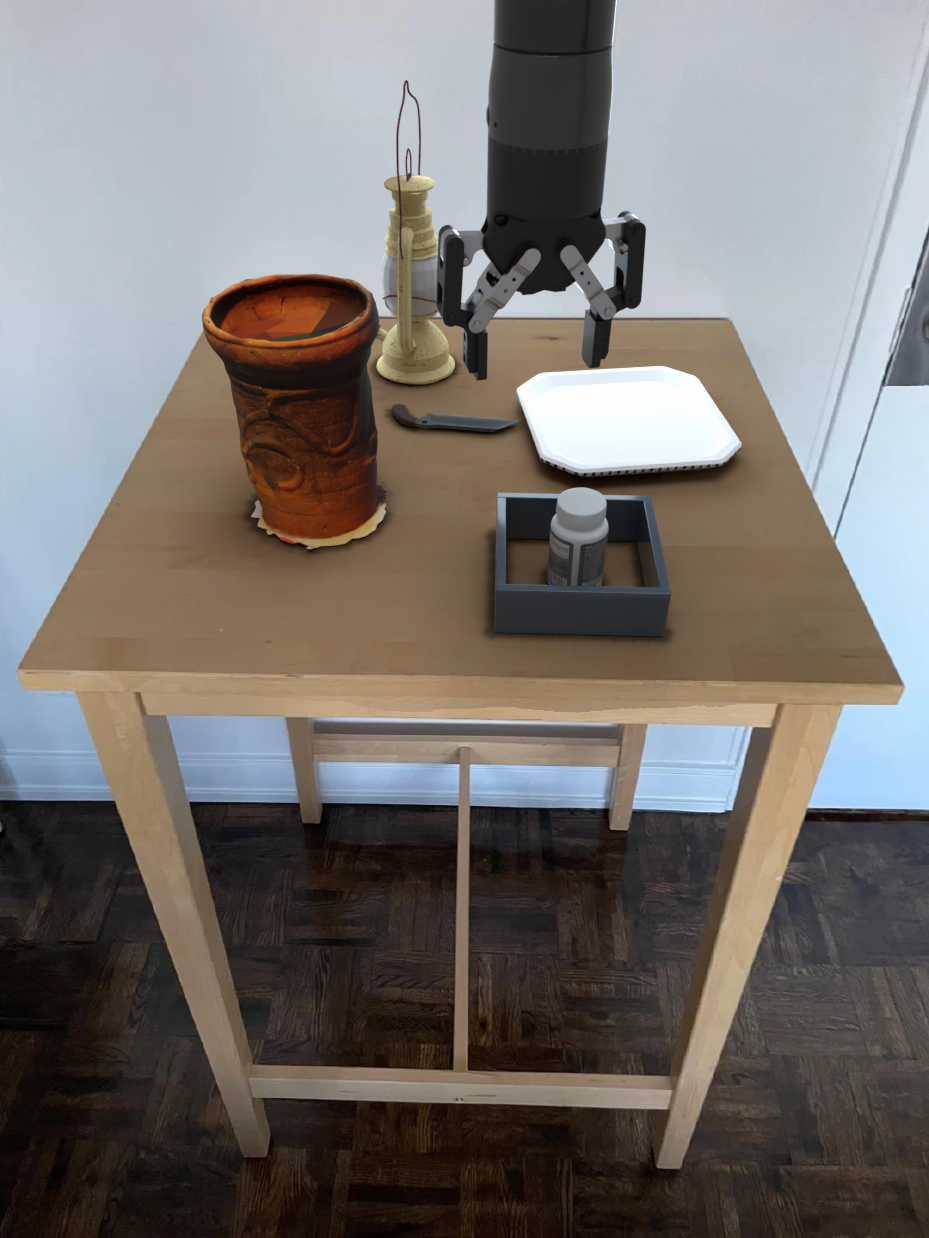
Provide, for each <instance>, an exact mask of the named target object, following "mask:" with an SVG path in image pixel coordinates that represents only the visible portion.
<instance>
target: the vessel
mask: <svg viewBox="0 0 929 1238" xmlns="http://www.w3.org/2000/svg"><path fill="white" fill-rule="evenodd" d="M201 321H202V329H203V333H204V337H205V339H206V341H207V343H208V345H209V346H210V348H211V349H212V350H213V352H214V353H215V354H216V355H217V356H218V358H220V360H221V361H222V362H223V366H224V369H225V372H226V374H227V376H228V378H229V381H230V392H231V396H232V400H233V405H234V408H235V413H236V414H235V415H236V419H237V420H236V421H237V425H238V429H239V445H240V451H241V457H242V458H243V459H244V462H245V469H246V473H247V477H248V479H249V481H250V483H251V485H252V486H253V488H254V491H255V494H256V497H257V500H256V501H255V502H254V505H255V509H254V511H253V513H252V514H251V516H250V518H255V519H258V522H257V527H259V528H260V529H263V530H266V532H265V533H266V534H267V535H268V536H269V535H270V536H271V535H274V534H275V535H276V536H277V538H279V540H281V541H283V542H286V543H290V544H292V545H293V544H297V543H299V544H302V545H305V546H307V547H306V549H308V550H312V549H317V548H320V547H330V546H331V547H333V546H341V545H345V544H347V543H348V542H350V541H352V539H360V538H363V537H367V536H369V534H371V533H373V532H374V531H376V530H377V528H378V527H377V526H378V525H379V524H380V523H381V522H382V521H383V520H384V518H385V515H386V513H387V510H386V507H387V504H386V502H385V500H386V497H383V496H385V495H386V494H387V493H388V491H387V490H386V489H384V488H383V486H382V484H381V481H377V480H378V460H377V459H378V458H377V455H378V441H379V439H378V438H379V437H378V435H379V432H378V428H377V425H376V417H375V409H374V401H373V388H372V383H371V377H370V374H369V372H368V363H369V360H370V357H371V354H372V346H373V344H374V342H375V340H376V336H377V333H378V328H379V325H380V315H379V311H378V307H377V302H376V300H375V298H374V294H373V292H371V291H370V290H368V289H367V288H366V287H365V286H364V285H363V284H361V283H360V282H359V281H357V280H354V279H351V278H345V277H344V278H343V277H339V276H333V275H329V274H322V273H321V274H320V273H305V274H301V273H299V274H296V273H295V274H293V273H292V274H290V273H289V274H285V273H284V274H271V275H263V276H259V277H255V278H245V279H243V280H241V281H239V282H236V283H234V284H231V285H230V286H228V287H227V288H226V289H224V290H222V291H221V292H220V293H218V294H216V295H214V296H212V297H210V300H209V302H208V303H207V305H205V307H204V309H203V311H202V314H201Z"/></svg>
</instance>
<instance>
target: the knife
mask: <svg viewBox="0 0 929 1238" xmlns="http://www.w3.org/2000/svg"><path fill="white" fill-rule="evenodd" d="M390 412H391V414H392V416H393V417H394V418H395V419H396V420H397V421H398V422H400V423H401V424H402V425H405V426H408V427H412V428H416V427H418V428H424V429H425V428H426V429H428V428H429V429H430V428H431V429H432V428H433V429H435V428H437V429H439V428H440V429H451V430H463V431H464V430H465V431H475V432H488V433H490V432H491V433H493V432H495V431H497V430H502V429H505V428H507V427H510V426H513V425H515V424H517V423H519V422H520V419H506V418H496V417H495V418H493V417H483V416H470V415H457V414H446V413H445V414H444V413H432V412H428V413H427V414H426V415H425V417H422V418H418V417H416V416H412V415H411V414H410V413H409V409H408V407H407V406H406V405H405V404H402V403H394V404H393V405H392V407H391V409H390Z"/></svg>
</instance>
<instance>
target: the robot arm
mask: <svg viewBox="0 0 929 1238" xmlns="http://www.w3.org/2000/svg"><path fill="white" fill-rule="evenodd" d="M616 12H617V0H493V36H492V37H493V44H492V58H491V65H490V70H489V80H488V92H487V94H488V95H487V106H486V112H485V122H486V125H487V154H486V155H487V158H486V159H487V161H486V164H487V165H486V216H485V220H484V222H483V224H482V226H481V228H480V230H456V228H455V227H454V226H453V225H450V224H445V225H443V226H442V227H441V228H440V229H439V231H438V234H437V237H438V242H437V243H438V259H437V284H436V308H437V310H438V314H439V316H440V318H441V319H442V322H443V323H444V325H445V326H446V327H449V328H452V327H459V328H462V329H461V330H462V331H461V332H462V336H461V337H462V341H461V342H462V344H461V345H462V353H461V354H462V361H463V363H464V366H465V367H466V369H467V371H468V373H469V374H472V375H473V377H474V379H475V380H476V381H477V382H478V381H485V380H487V379H488V354H489V353H488V347H489V346H488V345H489V344H488V343H489V332H488V331H487V329H486V327H487V326H488V325H489V324H490V322H491V321H492V319H493V318H494V316H495V315H496V314H497V313H498V311H499V310H502V309H504V308H505V307H506V305H507V304H508V303H509V301H510V300H511V298H512V297H513V296H514V295H515V293H516V292H517V293H520V294H521V296H529V295H536V294H537V293H540V292H543V291H546V292H553V293H559V292H566V291H567V288H568V287H570V286H572V285H573V284H575V285H576V287H577V288H578V289H579V290H580V292H581V293H582V295H583V296H584V297H585V299H586V300H587V302H588V303H589V309H585V311H584V320H583V332H582V333H583V334H582V345H581V358H582V361H583V362H584V363H585V365H586V367H587V368H588V369H598V368H600V366H601V361H602V360H606V358H607V357H608V354H609V351H610V341H611V340H610V339H611V332H612V331H611V330H612V322H613V318H614V317H615V316H616V314H617V313H619V312H621V311H623V310H625V309H629V310H635V309H637V308H638V307H639V306H640V304H641V302H642V298H643V297H642V294H643V279H644V267H645V253H646V238H647V237H646V236H647V227H646V225H645V224H644V223H643V222H642V221H641V220H640V219H639V218H638V216H636V215H635V214H633V213H632V212H631V211H629V210H623V211H621V212H620V213H619V214H618V215H617V217H614V218H608V219H607V218H606V219H603V217H602V207H603V202H604V190H605V182H606V180H605V179H606V170H607V158H608V147H609V138H610V136H609V135H610V126H611V114H612V103H613V90H614V74H613V73H614V72H613V48H614V46H613V43H614V35H615V34H614V33H615V23H616ZM605 240H607V241H608V245H609V247H610V248H611V249H612V250H613V251H614V263H613V265H614V266H613V286H611V287H608V288H607V289H604V287H603V285H602V283H601V282H600V281H599V278H597V276H596V275H595V274H594V272H593V270H592V269H591V268H590V266H589V264H590V262H591V261H592V260H593V258H594V257H595V255H596V254H597V253H598V251H599V250H600V248H601V247H602V246H603V244H604V242H605ZM481 250H482V251H483V252H484V254H485V255H486V257H487V258H488V260H489V261H490V262H489V263H488V265H486V267H485V269H484V270H483V271H482V273H481V275H479V277H478V278H477V282H476V286H475V288H474V290H473V291H472V293H470V295H469V297H468V298H467V299H466V301H465V302H462V299H463V298H462V296H463V277H464V268H466V267H469V266H470V265H471V264H472V262H473V259H474V256H475V254H476V253H477V252H478V251H481Z"/></svg>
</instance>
